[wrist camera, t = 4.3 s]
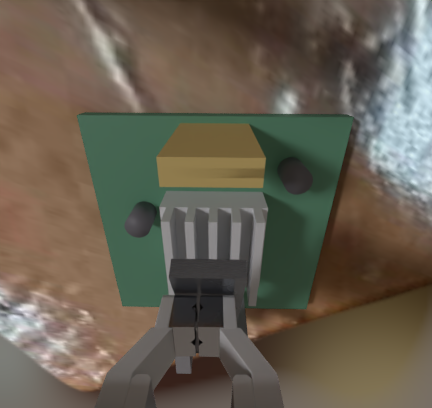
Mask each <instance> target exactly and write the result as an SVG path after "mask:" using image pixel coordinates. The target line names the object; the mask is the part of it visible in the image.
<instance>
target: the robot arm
mask: <svg viewBox="0 0 432 408" xmlns="http://www.w3.org/2000/svg"><path fill="white" fill-rule="evenodd" d="M197 305H198V298H197V296H191V295H163V297H162V299H161V304H160V308H159V312H158V316H157V320H156V324H155V328H150V330H149V331H148V332H147V333H146V334H145V335H144V336H143V337H142V338H141V339H140V340H139V341H138V342H137V343H136V344H135V345H134V346H133V347H132V348H131V349H130V350H129V351H128V352H127V353H126V354H125V355H124V356H123V357H122V358H121V359H120V360H119V361H118V362H117V363H116V364H115V365H114V366H113V367H112V368H111V369H110V371H109V372H108V373H107V375H106V377H105V380H104V383H103V386H102V388H101V391H100V394H99V397H98V400H97V402H96V405H95V408H156V403H155V397H154V392H153V390H154V389H155V387H156V386H157V384H158V383H159V381H160V379H161V378H162V377H163V375H164V374H165V372H166V371H167V370H168V368H169V367H170V365H171V364H172V362H173V361H174V359H175V357H184V356H196V344H197V333H196V332H197V330H198V339H199V356H208V357H220V360H221V362H222V364H223V365H224V367H225V369H226V371H227V372H228V374H229V376H230V378H231V380H232V381H233V383H232V399H231V408H284V406H283V401H282V396H281V390H280V386H279V381H278V375H277V373H276V372H275V371H274V370H273V368H272V367H271V366H270V364H269V363H268V362H267V360H266V359H265V358H264V357H263V355H262V354H261V353H260V352H259V350H258V349H257V348H256V347H255V345H254V344H253V343H252V342H251V340H250V339H249V338H248V336H247V335H246V334H245V333H244V331H243V330H242V329H241V328H237V318H236V306H235V297H234V295H223V296H222V295H200V312H199V321H198V308H197Z"/></svg>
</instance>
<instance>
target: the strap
mask: <svg viewBox="0 0 432 408" xmlns="http://www.w3.org/2000/svg"><path fill="white" fill-rule="evenodd" d="M169 280H170V283H171V286H172V289H173V291H174V294H175V295H191V296H197V298H198V305H197V308H198V321H199V312H200V295H222V296H223V295H234V297H235V306H236V318H237V321H238V317H239V312H240V308H241V304H242V300H243V296H244V291H245V287H246V283H247V264H246V260H232V259H171V264H170V271H169ZM196 333H197V344H196V353H199V339H198V330H197V332H196Z"/></svg>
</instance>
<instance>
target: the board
mask: <svg viewBox="0 0 432 408" xmlns="http://www.w3.org/2000/svg"><path fill="white" fill-rule="evenodd" d="M77 118H78V122H79V127H80V131H81V135H82V139H83V143H84V147H85V152H86V156H87V160H88V164H89V168H90V172H91V176H92V181H93V185H94V189H95V193H96V197H97V201H98V206H99V210H100V214H101V218H102V222H103V226H104V231H105V235H106V239H107V243H108V247H109V251H110V256H111V260H112V264H113V268H114V272H115V276H116V281H117V285H118V289H119V293H120V297H121V301H122V306H139V307H160V304H161V299H162V297H163V295H175V294H174V291H173V289H172V286H171V283H170V280H169V271H170V264H171V259H232V260H246V264H247V283H246V287H245V291H244V296H243V300H242V304H241V308H240V312H239V317H238V321H237V328H241V329H242V330H243V331H244V333H245V334H246V335H247V325H246V315H245V308H266V309H306V308H307V304H308V300H309V296H310V292H311V288H312V284H313V280H314V276H315V272H316V268H317V264H318V260H319V256H320V252H321V248H322V243H323V239H324V235H325V231H326V227H327V223H328V219H329V215H330V211H331V207H332V203H333V199H334V195H335V191H336V187H337V183H338V179H339V175H340V171H341V167H342V163H343V159H344V155H345V151H346V147H347V143H348V139H349V135H350V131H351V127H352V123H353V119H354V117H352V116H349V115H342V114H212V113H82V114H79V115H77ZM247 336H248V335H247ZM192 358H193V356H184V357H175V362H176V371H177V373H190V374H191V368H192Z"/></svg>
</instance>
